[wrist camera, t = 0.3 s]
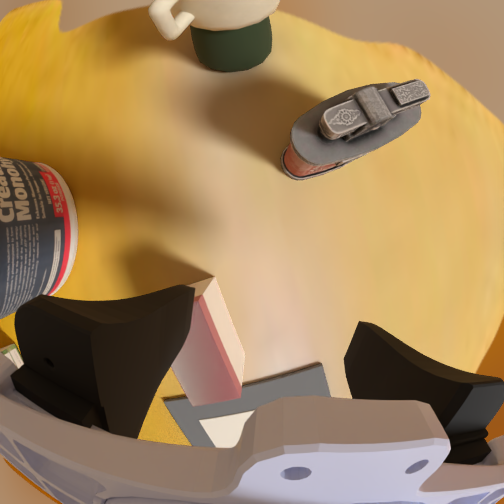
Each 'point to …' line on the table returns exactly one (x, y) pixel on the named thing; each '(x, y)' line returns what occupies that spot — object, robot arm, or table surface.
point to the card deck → (210, 350)
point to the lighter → (351, 126)
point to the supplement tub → (34, 232)
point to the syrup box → (13, 354)
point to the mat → (242, 407)
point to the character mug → (219, 29)
